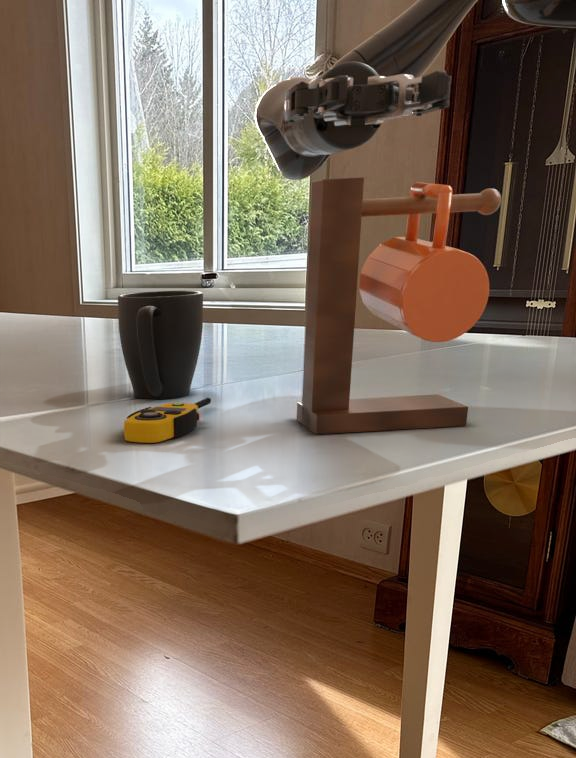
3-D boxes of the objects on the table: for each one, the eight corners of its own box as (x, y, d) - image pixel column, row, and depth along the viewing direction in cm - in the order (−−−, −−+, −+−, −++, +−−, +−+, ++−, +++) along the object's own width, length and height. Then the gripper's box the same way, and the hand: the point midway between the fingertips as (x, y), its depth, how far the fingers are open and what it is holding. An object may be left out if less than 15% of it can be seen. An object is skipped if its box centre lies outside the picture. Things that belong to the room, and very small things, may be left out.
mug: (100, 408, 86) (96, 301, 82) (132, 387, 97) (129, 291, 93) (186, 409, 84) (185, 299, 80) (209, 387, 95) (209, 289, 91)
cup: (397, 344, 66) (355, 320, 75) (482, 340, 66) (430, 316, 75) (415, 189, 61) (368, 182, 70) (506, 184, 61) (448, 178, 70)
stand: (458, 410, 78) (485, 173, 70) (490, 424, 72) (523, 168, 65) (296, 420, 77) (306, 182, 70) (315, 434, 72) (329, 177, 64)
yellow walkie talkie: (110, 417, 72) (184, 386, 84) (111, 441, 73) (185, 407, 85) (166, 420, 70) (234, 388, 82) (167, 445, 71) (234, 409, 83)
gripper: (267, 72, 92) (312, 39, 77) (407, 65, 92) (479, 31, 77) (266, 156, 95) (308, 140, 80) (401, 149, 95) (469, 132, 80)
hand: (392, 87), depth 78 cm, fingers open, 8 cm apart
